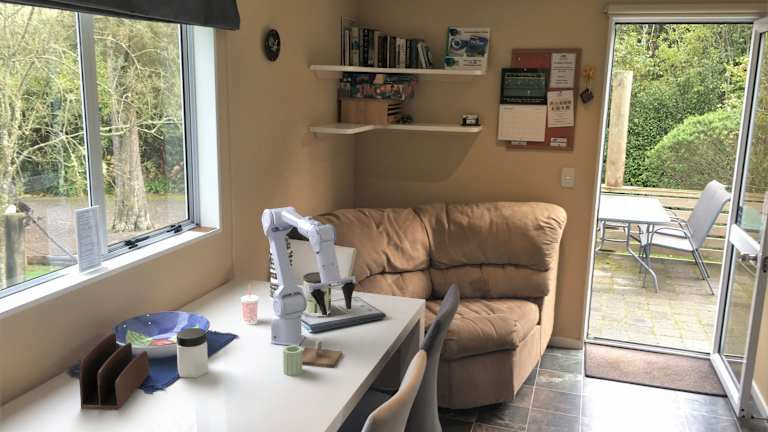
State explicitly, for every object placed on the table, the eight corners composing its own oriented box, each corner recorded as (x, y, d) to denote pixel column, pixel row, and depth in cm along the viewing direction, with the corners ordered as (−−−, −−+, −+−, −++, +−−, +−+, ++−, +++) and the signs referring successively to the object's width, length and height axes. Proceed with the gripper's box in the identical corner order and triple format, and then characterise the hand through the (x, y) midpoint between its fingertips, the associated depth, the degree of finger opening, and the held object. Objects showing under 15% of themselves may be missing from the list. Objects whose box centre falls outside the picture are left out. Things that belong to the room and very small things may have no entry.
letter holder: (80, 409, 159) (76, 357, 156) (115, 373, 178) (112, 327, 175) (118, 410, 158) (115, 359, 156) (150, 375, 178) (147, 329, 175)
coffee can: (315, 305, 236) (315, 270, 233) (336, 311, 231) (337, 275, 228) (297, 313, 228) (297, 276, 225) (319, 319, 222) (319, 282, 220)
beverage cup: (237, 323, 217) (236, 285, 214) (248, 317, 222) (247, 280, 220) (252, 326, 215) (251, 288, 212) (262, 320, 220) (261, 283, 217)
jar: (210, 375, 178) (208, 336, 176) (180, 380, 175) (178, 341, 172) (204, 363, 186) (203, 325, 183) (176, 367, 182) (174, 329, 180)
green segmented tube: (280, 374, 180) (280, 351, 178) (287, 366, 185) (286, 344, 184) (298, 376, 179) (298, 353, 177) (304, 368, 184) (304, 346, 183)
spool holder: (295, 363, 187) (294, 346, 186) (305, 350, 197) (305, 333, 195) (333, 367, 185) (333, 350, 184) (341, 354, 194) (342, 337, 193)
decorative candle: (291, 302, 239) (290, 240, 234) (267, 302, 239) (266, 239, 234) (294, 295, 248) (294, 234, 242) (271, 294, 248) (270, 233, 243)
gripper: (309, 269, 174) (318, 317, 173) (356, 260, 180) (364, 306, 179) (301, 271, 180) (310, 317, 179) (347, 262, 186) (355, 306, 186)
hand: (337, 312), depth 180 cm, fingers open, 7 cm apart
